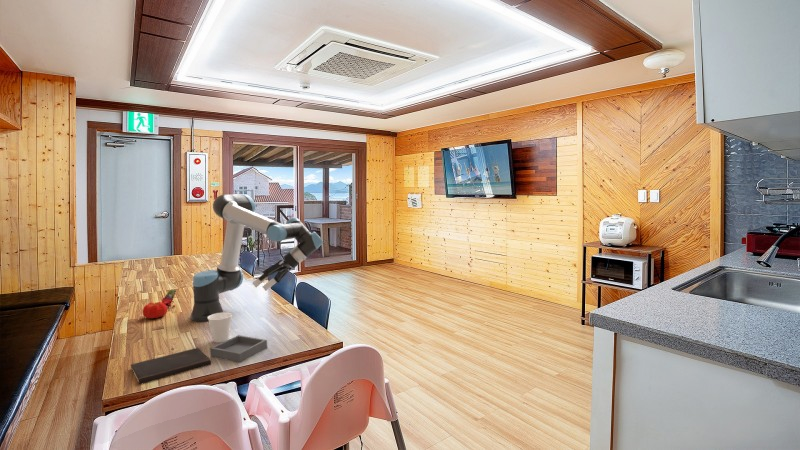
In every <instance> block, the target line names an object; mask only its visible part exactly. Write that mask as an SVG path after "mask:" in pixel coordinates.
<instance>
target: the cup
mask: <svg viewBox="0 0 800 450" xmlns="http://www.w3.org/2000/svg"><path fill="white" fill-rule="evenodd" d="M232 317H233V313H231V312H223V313H216V314H212V315H210V316H208V320H209V321H208V323H209V328H210V332H211V336H212V341H213V342H214V343H217V344H220V343H222V342H225V341H227V340H229V339H230V332H231V325H232V324H231V323H232Z"/></svg>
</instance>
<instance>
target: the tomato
mask: <svg viewBox="0 0 800 450" xmlns="http://www.w3.org/2000/svg"><path fill="white" fill-rule="evenodd" d="M167 313H168V306H166V305H165V304H164V303H162V301H157V302H156V301H155V302H149V303H147V304H145V305H144V307H143V309H142V315H143V317H144V318H146V319H149V318H156V319H158V318H162V316H163V317H164V316H165V315H167Z"/></svg>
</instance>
